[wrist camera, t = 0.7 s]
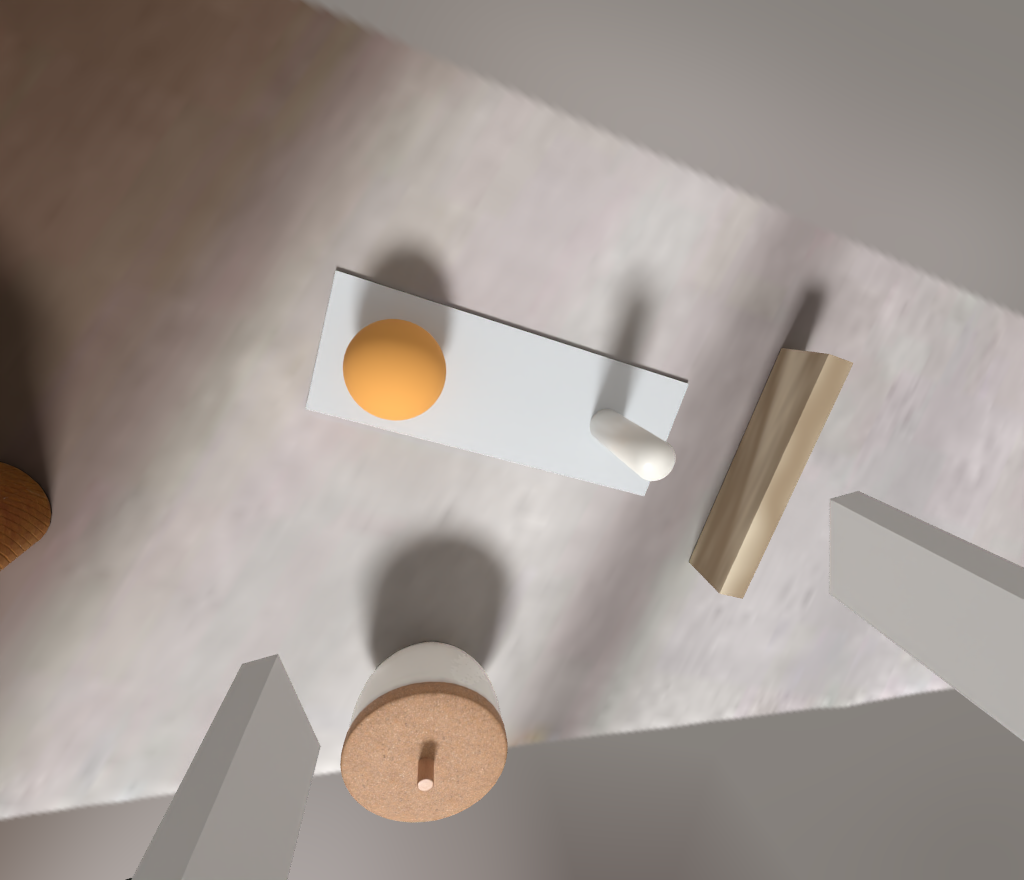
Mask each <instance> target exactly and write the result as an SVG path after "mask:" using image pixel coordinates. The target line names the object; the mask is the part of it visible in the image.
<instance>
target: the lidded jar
mask: <svg viewBox="0 0 1024 880" xmlns="http://www.w3.org/2000/svg"><path fill="white" fill-rule="evenodd" d="M506 757H507V738H506V732H505V728H504V724H503V721H502V718H501V713H500V708H499V703H498V699H497V696H496V693H495V691H494V688H493V686H492V684H491V681H490V679H489V677H488V675H487V674H486V672H485V671H484V669H483V668H482V667H481V666H480V664H479V663H478V662H477V661H476V660H475V659H474V658H473V657H472V656H470V655H469V654H467V653H466V652H464V651H463V650H461V649H459V648H457V647H455V646H452V645H449V644H444V643H440V642H422V643H418V644H415V645H411V646H409V647H406V648H403V649H401V650H400V651H398V652H396V653H394V654H393V655H392V656H390V657H389V658H387V659H386V660H385V661H384V662H383V663H382V664H380V665H379V666H378V667H377V669H376V670H375V671H374V672H373V674H372V675H371V676H370V678H369V679H368V680H367V682H366V684H365V686H364V688H363V690H362V692H361V694H360V696H359V698H358V700H357V703H356V705H355V708H354V711H353V715H352V718H351V722H350V726H349V729H348V732H347V735H346V738H345V741H344V745H343V749H342V753H341V764H340V765H341V773H342V777H343V780H344V783H345V785H346V787H347V789H348V790H349V792H350V794H351V795H352V796H353V797H354V799H355V800H356V801H357V802H358V803H359V804H361V805H362V806H363V807H364V808H366V809H367V810H369V811H371V812H373V813H375V814H376V815H379V816H381V817H384V818H387V819H391V820H396V821H403V822H426V821H433V820H438V819H442V818H445V817H449V816H451V815H454V814H456V813H459V812H461V811H463V810H465V809H467V808H468V807H470V806H472V805H473V804H474V803H476V802H477V801H479V800H480V799H481V798H482V797H483V796H484V795H485V794H487V793H488V791H489V790H490V789H491V788H492V787H493V786H494V784H495V783H496V781H497V779H498V778H499V776H500V775H501V773H502V770H503V768H504V765H505V763H506Z"/></svg>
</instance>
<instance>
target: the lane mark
mask: <svg viewBox="0 0 1024 880" xmlns="http://www.w3.org/2000/svg"><path fill="white" fill-rule="evenodd" d="M385 319H400V320H405V321H409V322H412V323H414V324H417V325H418V326H420V327H422V328H423V329H425V330H426V331H427V332H428V333H429V334H430V335H432V336H433V338H434V339H435V340H436V341H437V343H438V345H439V346H440V348H441V350H442V352H443V355H444V358H445V363H446V380H445V384H444V387H443V390H442V393H441V394H440V396H439V398H438V399H437V401H436V402H435V403H434V404H433V405H432V406H431V407H430V408H429V409H428V410H427V411H425V412H424V413H422V414H420V415H418V416H416V417H414V418H410V419H406V420H396V421H394V420H386V419H382V418H379V417H376V416H374V415H372V414H370V413H368V412H367V411H365V410H364V409H362V408H361V407H360V406H359V405H358V404H357V403H356V402H355V401H354V399H353V398H352V396H351V395H350V393H349V391H348V389H347V387H346V384H345V381H344V376H343V360H344V355H345V352H346V349H347V347H348V345H349V343H350V342H351V340H352V339H353V337H354V336H355V335H356V334H357V333H358V332H359V331H360V330H362V329H363V328H364V327H366V326H368V325H369V324H371V323H374V322H376V321H380V320H385ZM688 385H689V384H688V383H684V382H681V381H678V380H675V379H672V378H669V377H666V376H663V375H660V374H656V373H653V372H650V371H647V370H644V369H641V368H638V367H635V366H632V365H628V364H625V363H622V362H619V361H616V360H613V359H610V358H607V357H604V356H601V355H597V354H594V353H591V352H588V351H585V350H582V349H579V348H576V347H573V346H569V345H566V344H563V343H560V342H557V341H554V340H551V339H548V338H545V337H542V336H538V335H535V334H532V333H529V332H526V331H523V330H520V329H517V328H514V327H510V326H507V325H504V324H501V323H498V322H495V321H492V320H489V319H486V318H482V317H479V316H476V315H473V314H470V313H467V312H464V311H461V310H458V309H455V308H451V307H448V306H445V305H442V304H439V303H436V302H433V301H430V300H427V299H423V298H420V297H417V296H414V295H411V294H408V293H405V292H402V291H399V290H396V289H392V288H389V287H386V286H383V285H380V284H377V283H374V282H371V281H368V280H364V279H361V278H358V277H355V276H352V275H349V274H346V273H343V272H340V271H337V270H336V271H335V276H334V281H333V285H332V290H331V294H330V299H329V303H328V308H327V313H326V317H325V322H324V326H323V331H322V336H321V340H320V345H319V349H318V354H317V359H316V363H315V368H314V372H313V377H312V381H311V386H310V391H309V395H308V400H307V404H306V409H307V410H311V411H315V412H319V413H322V414H326V415H330V416H334V417H338V418H342V419H346V420H350V421H354V422H357V423H361V424H365V425H369V426H373V427H377V428H381V429H385V430H389V431H392V432H396V433H400V434H404V435H408V436H412V437H416V438H420V439H424V440H427V441H431V442H435V443H439V444H443V445H447V446H451V447H455V448H459V449H462V450H466V451H470V452H474V453H478V454H482V455H486V456H490V457H494V458H497V459H501V460H505V461H509V462H513V463H517V464H521V465H525V466H529V467H532V468H536V469H540V470H544V471H548V472H552V473H556V474H560V475H564V476H567V477H571V478H575V479H579V480H583V481H587V482H591V483H595V484H599V485H602V486H606V487H610V488H614V489H618V490H622V491H626V492H630V493H634V494H637V495H641V496H644V495H645V493H646V490H647V488H648V485H649V483H650V481H648V480H645V479H643V478H641V477H640V476H639V475H638V474H637V473H635V472H634V471H633V470H632V469H631V468H630V467H628V466H627V465H626V464H625V463H624V462H623V461H621V460H620V459H619V458H618V457H617V456H616V455H614V454H613V453H612V452H611V451H610V450H608V449H607V448H606V447H605V446H604V445H603V444H601V443H600V442H599V441H598V440H597V439H596V438H594V437H593V435H592V434H591V432H590V421H591V419H592V417H593V416H594V414H595V413H597V412H598V411H600V410H602V409H611V410H614V411H616V412H617V413H619V414H621V415H622V416H624V417H626V418H627V419H629V420H631V421H632V422H634V423H635V424H637V425H639V426H640V427H642V428H644V429H645V430H647V431H649V432H650V433H652V434H654V435H655V436H657V437H659V438H660V439H662V440H664V441H665V442H666V440H667V437H668V435H669V432H670V430H671V427H672V425H673V422H674V420H675V417H676V415H677V412H678V410H679V407H680V405H681V402H682V400H683V397H684V395H685V392H686V390H687V387H688Z"/></svg>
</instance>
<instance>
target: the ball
mask: <svg viewBox="0 0 1024 880" xmlns="http://www.w3.org/2000/svg"><path fill="white" fill-rule="evenodd" d="M343 376H344V381H345V384H346V387H347V389H348V391H349V393H350V395H351V396H352V398H353V399H354V401H355V402H356V403H357V404H358V405H359V406H360V407H361V408H362V409H364V410H365V411H367V412H368V413H370V414H372V415H374V416H376V417H379V418H382V419H386V420H394V421H396V420H406V419H410V418H414V417H416V416H418V415H420V414H422V413H424V412H425V411H427V410H428V409H429V408H430V407H431V406H432V405H433V404H434V403H435V402H436V401H437V399H438V398H439V396H440V394H441V393H442V390H443V387H444V384H445V380H446V363H445V358H444V355H443V352H442V350H441V348H440V346H439V345H438V343H437V341H436V340H435V339H434V338H433V336H432V335H430V334H429V333H428V332H427V331H426V330H425V329H423V328H422V327H420V326H418V325H417V324H414V323H412V322H409V321H405V320H400V319H385V320H380V321H376V322H374V323H371V324H369V325H368V326H366V327H364V328H363V329H362V330H360V331H359V332H358V333H357V334H356V335H355V336H354V337H353V339H352V340H351V342H350V343H349V345H348V347H347V349H346V352H345V355H344V360H343Z"/></svg>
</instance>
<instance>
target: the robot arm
mask: <svg viewBox="0 0 1024 880" xmlns="http://www.w3.org/2000/svg"><path fill="white" fill-rule="evenodd" d="M829 594H830V595H831V596H833V597H834V598H835V599H837V600H838V601H839V602H841V603H842V604H843V605H845V606H846V607H847V608H849V609H850V610H851V611H853V612H854V613H855V614H856V615H858V616H859V617H860V618H862V619H863V620H864V621H866V622H867V623H868V624H870V625H871V626H872V627H874V628H875V629H876V630H878V631H879V632H880V633H882V634H883V635H884V636H886V637H887V638H888V639H889V640H891V641H892V642H893V643H895V644H896V645H897V646H899V647H900V648H901V649H903V650H904V651H905V652H907V653H908V654H909V655H911V656H912V657H913V658H915V659H916V660H917V661H919V662H920V663H921V664H922V665H924V666H925V667H926V668H928V669H929V670H930V671H932V672H933V673H934V674H936V675H937V676H938V677H940V678H941V679H942V680H944V681H945V682H946V683H948V684H949V685H950V686H952V687H953V688H954V689H956V690H957V691H958V692H959V693H961V694H962V695H964V696H965V697H966V698H967V699H969V700H970V701H971V702H973V703H974V704H975V705H977V706H978V707H979V708H981V709H982V710H983V711H985V712H986V713H987V714H989V715H990V716H992V717H993V718H994V719H995V720H996V721H998V722H999V723H1000V724H1002V725H1003V726H1004V727H1006V728H1007V729H1008V730H1010V731H1011V732H1012V733H1014V734H1015V735H1016V736H1018V737H1019V738H1020V739H1022V740H1023V741H1024V568H1023V567H1021V566H1019V565H1017V564H1015V563H1013V562H1010V561H1008V560H1006V559H1004V558H1002V557H1000V556H997V555H995V554H993V553H991V552H989V551H987V550H985V549H982V548H980V547H978V546H976V545H974V544H972V543H969V542H967V541H965V540H963V539H961V538H959V537H957V536H954V535H952V534H950V533H948V532H946V531H944V530H941V529H939V528H937V527H935V526H933V525H931V524H929V523H926V522H924V521H922V520H920V519H918V518H916V517H913V516H911V515H909V514H907V513H905V512H903V511H901V510H898V509H896V508H894V507H892V506H890V505H888V504H885V503H883V502H881V501H879V500H877V499H875V498H872V497H870V496H868V495H866V494H864V493H862V492H860V491H857V492H853V493H850V494H846V495H842V496H839V497H835V498H832V499H830V535H829ZM319 750H320V744H319V742H318V740H317V738H316V736H315V733H314V731H313V729H312V727H311V725H310V723H309V720H308V718H307V716H306V714H305V712H304V709H303V707H302V705H301V703H300V701H299V699H298V696H297V694H296V692H295V690H294V688H293V686H292V683H291V681H290V679H289V677H288V675H287V673H286V670H285V668H284V666H283V664H282V662H281V660H280V657H279V655H278V654H277V655H273V656H269V657H266V658H262V659H259V660H255V661H252V662H248V663H244V664H242V665H241V667H240V669H239V671H238V673H237V675H236V677H235V679H234V681H233V683H232V685H231V687H230V689H229V691H228V693H227V695H226V697H225V699H224V700H223V702H222V704H221V706H220V708H219V710H218V712H217V714H216V716H215V718H214V720H213V722H212V724H211V726H210V728H209V730H208V732H207V734H206V736H205V738H204V739H203V741H202V743H201V745H200V747H199V749H198V751H197V753H196V755H195V757H194V759H193V761H192V763H191V765H190V767H189V769H188V771H187V773H186V775H185V776H184V778H183V780H182V782H181V784H180V786H179V788H178V790H177V792H176V794H175V796H174V798H173V800H172V802H171V804H170V806H169V808H168V810H167V812H166V814H165V815H164V818H163V819H162V821H161V823H160V825H159V827H158V829H157V831H156V833H155V835H154V837H153V839H152V841H151V843H150V845H149V847H148V849H147V850H146V853H145V855H144V856H143V858H142V860H141V862H140V864H139V866H138V868H137V870H136V872H135V874H134V876H133V878H130V879H126V880H287V879H288V875H289V871H290V867H291V863H292V859H293V855H294V851H295V847H296V843H297V839H298V835H299V831H300V827H301V823H302V819H303V814H304V811H305V807H306V802H307V798H308V795H309V791H310V786H311V782H312V778H313V774H314V770H315V766H316V762H317V758H318V754H319Z"/></svg>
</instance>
